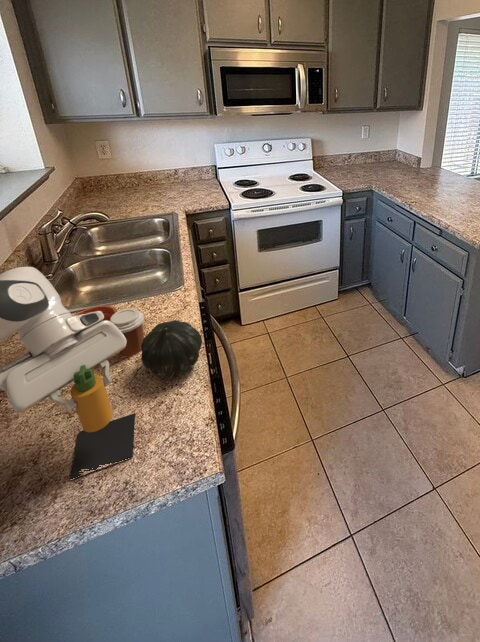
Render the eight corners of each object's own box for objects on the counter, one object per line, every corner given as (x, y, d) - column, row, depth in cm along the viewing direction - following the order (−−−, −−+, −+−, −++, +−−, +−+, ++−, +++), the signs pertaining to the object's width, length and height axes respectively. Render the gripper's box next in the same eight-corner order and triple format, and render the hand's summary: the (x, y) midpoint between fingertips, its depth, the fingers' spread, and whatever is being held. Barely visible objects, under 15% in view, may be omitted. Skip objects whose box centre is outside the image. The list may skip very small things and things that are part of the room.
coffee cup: (118, 343, 105) (109, 309, 101) (151, 336, 108) (144, 302, 103) (111, 365, 97) (102, 329, 93) (148, 357, 100) (140, 322, 95)
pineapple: (80, 436, 70) (61, 385, 65) (84, 414, 75) (67, 364, 70) (111, 426, 72) (95, 375, 67) (114, 405, 77) (99, 356, 72)
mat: (69, 481, 69) (69, 479, 69) (79, 432, 79) (79, 431, 78) (132, 457, 73) (132, 456, 73) (135, 414, 83) (134, 413, 83)
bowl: (64, 351, 102) (60, 339, 100) (73, 323, 113) (70, 312, 112) (118, 338, 107) (114, 326, 105) (121, 312, 118) (118, 301, 117)
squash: (177, 319, 106) (145, 307, 94) (219, 333, 101) (191, 323, 89) (154, 369, 101) (116, 364, 88) (197, 386, 96) (163, 383, 83)
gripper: (-11, 368, 62) (31, 436, 61) (108, 307, 78) (143, 359, 77) (-12, 377, 66) (27, 441, 64) (102, 316, 82) (135, 367, 81)
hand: (91, 396), depth 71 cm, fingers closed on pineapple, 5 cm apart
